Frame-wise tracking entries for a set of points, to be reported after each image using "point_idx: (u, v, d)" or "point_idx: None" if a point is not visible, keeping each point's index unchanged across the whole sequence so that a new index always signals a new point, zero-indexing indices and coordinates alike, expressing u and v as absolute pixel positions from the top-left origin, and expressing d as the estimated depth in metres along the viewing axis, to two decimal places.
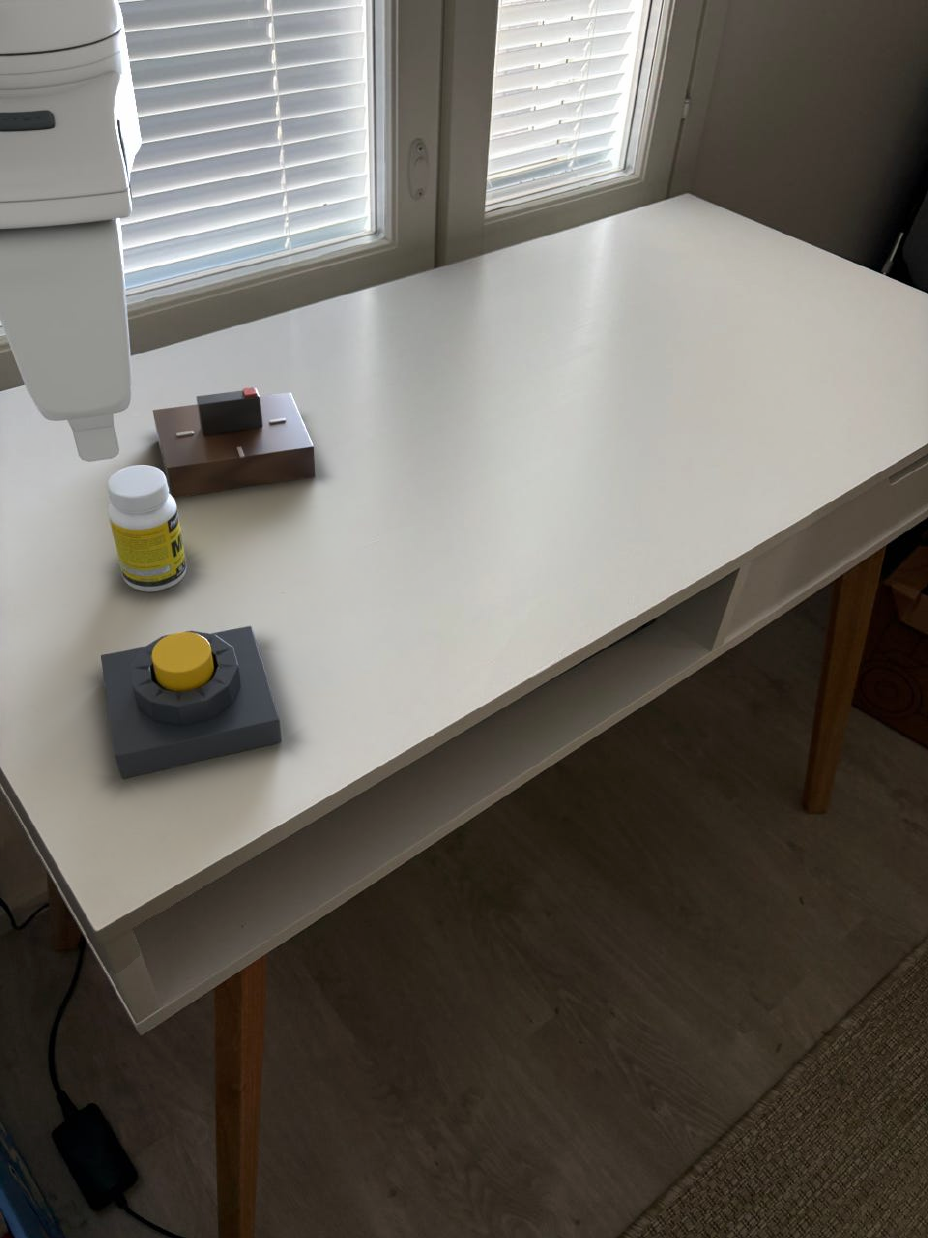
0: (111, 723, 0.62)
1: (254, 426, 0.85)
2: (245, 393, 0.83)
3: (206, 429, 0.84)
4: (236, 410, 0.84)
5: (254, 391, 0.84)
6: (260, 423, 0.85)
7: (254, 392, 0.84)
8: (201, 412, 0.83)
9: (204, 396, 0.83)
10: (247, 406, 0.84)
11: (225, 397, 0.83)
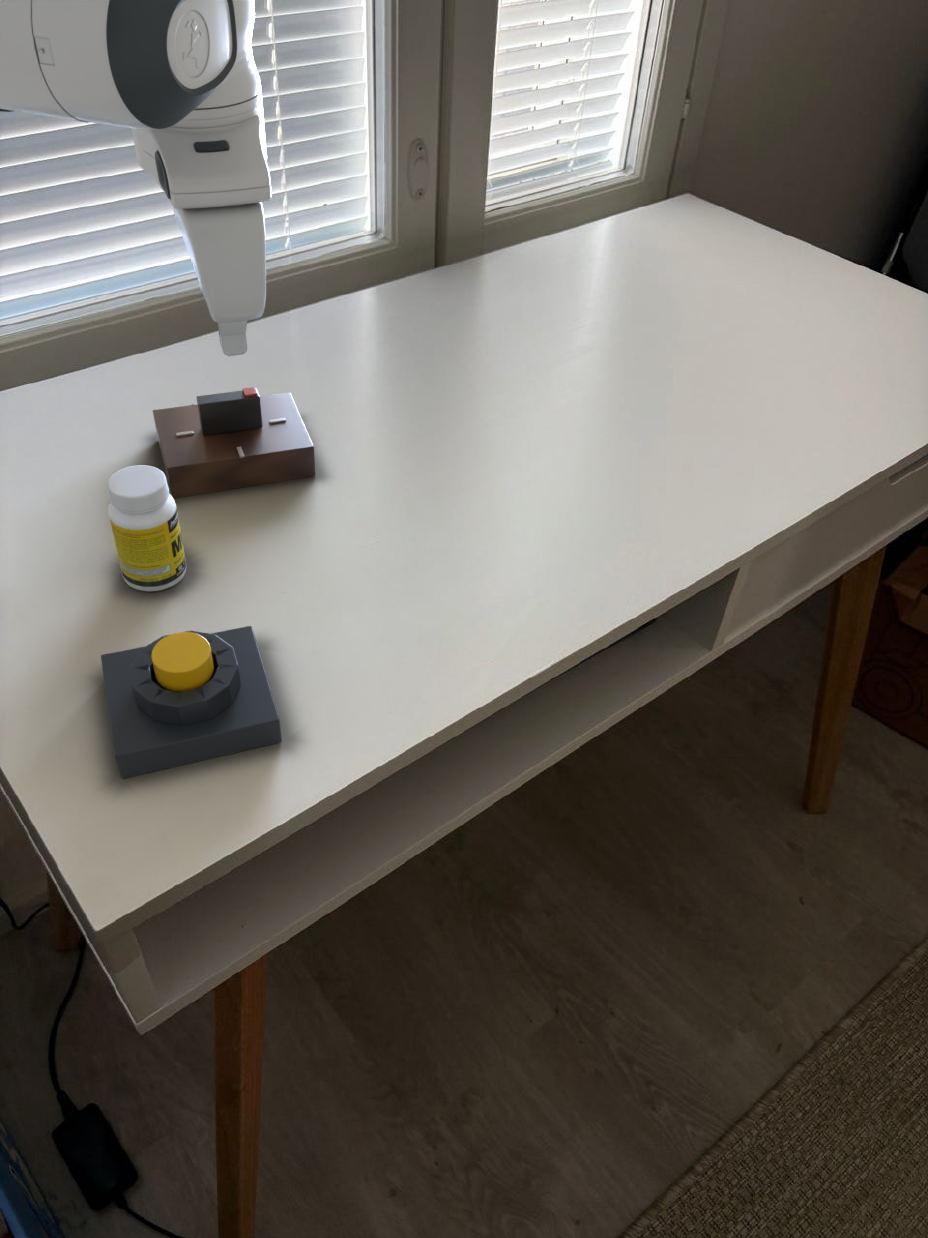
0: (111, 723, 0.62)
1: (254, 426, 0.85)
2: (245, 393, 0.83)
3: (206, 429, 0.84)
4: (236, 410, 0.84)
5: (254, 391, 0.84)
6: (260, 423, 0.85)
7: (254, 392, 0.84)
8: (201, 412, 0.83)
9: (204, 396, 0.83)
10: (247, 406, 0.84)
11: (225, 397, 0.83)
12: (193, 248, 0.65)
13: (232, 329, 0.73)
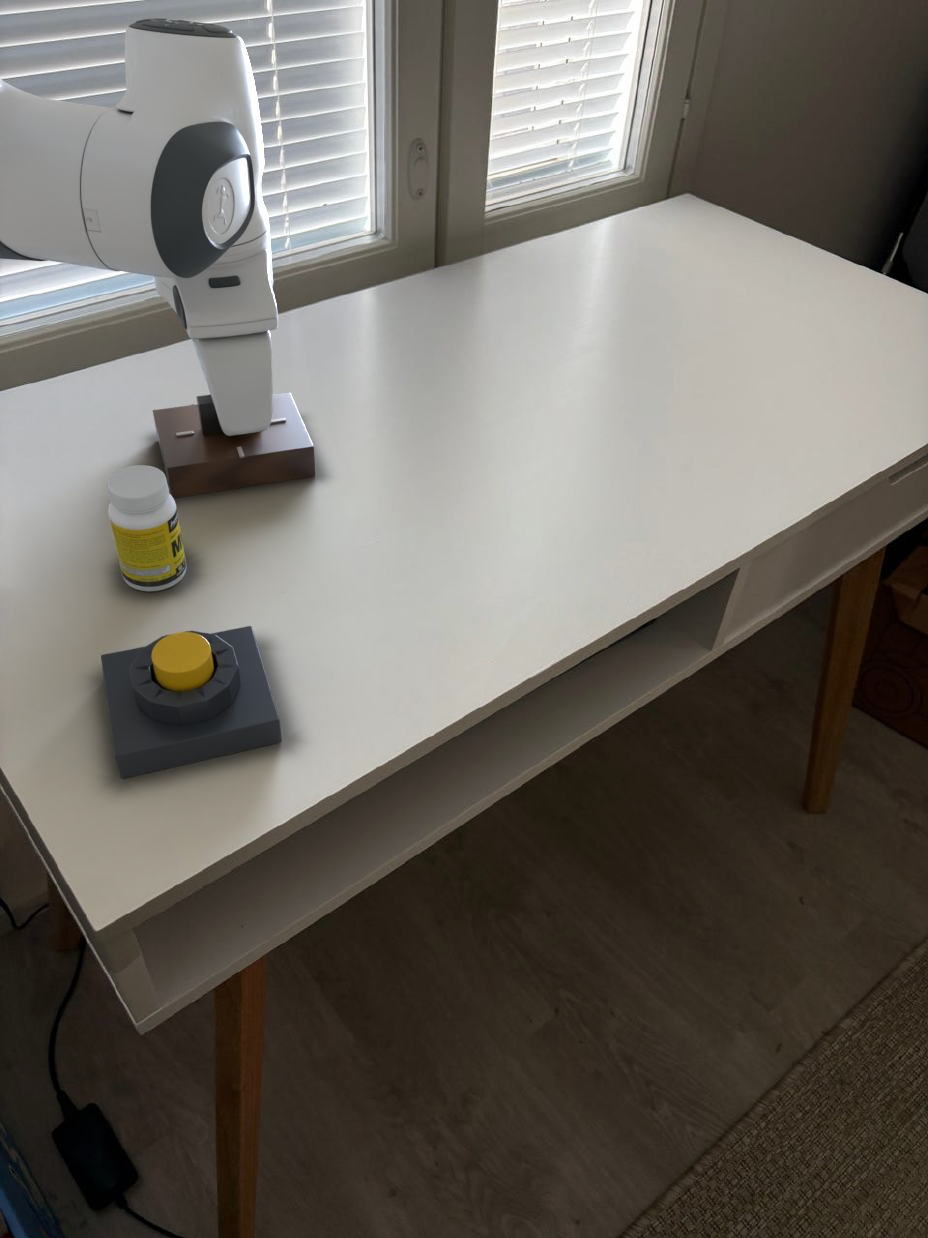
0: (111, 723, 0.62)
1: None
2: None
3: (206, 429, 0.84)
4: None
5: None
6: None
7: None
8: (201, 412, 0.83)
9: (204, 396, 0.83)
10: None
11: None
12: (207, 373, 0.72)
13: None
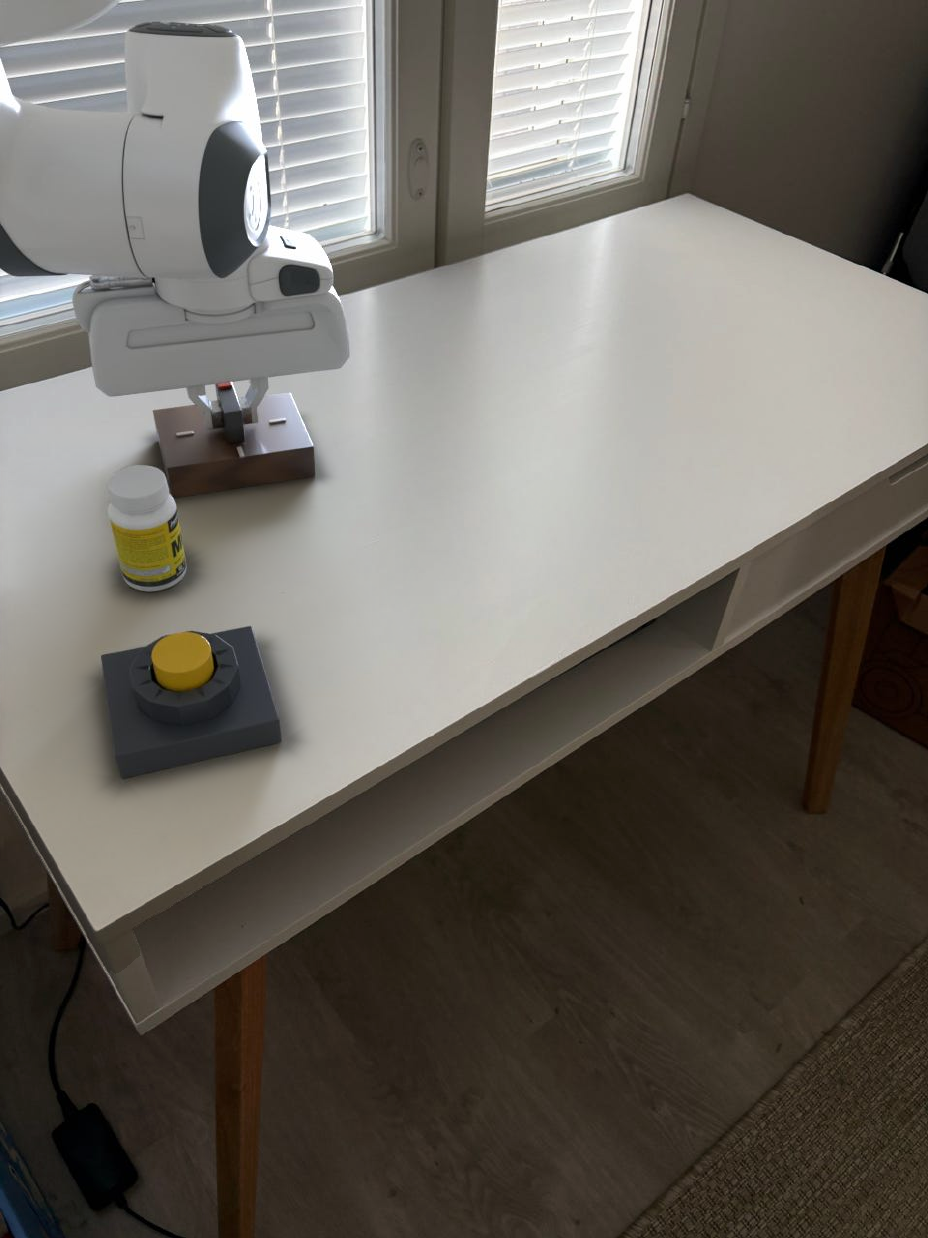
0: (111, 723, 0.62)
1: None
2: (228, 385, 0.84)
3: (244, 434, 0.84)
4: None
5: None
6: None
7: None
8: (242, 418, 0.83)
9: (226, 408, 0.82)
10: None
11: (231, 397, 0.83)
12: (340, 313, 0.79)
13: None
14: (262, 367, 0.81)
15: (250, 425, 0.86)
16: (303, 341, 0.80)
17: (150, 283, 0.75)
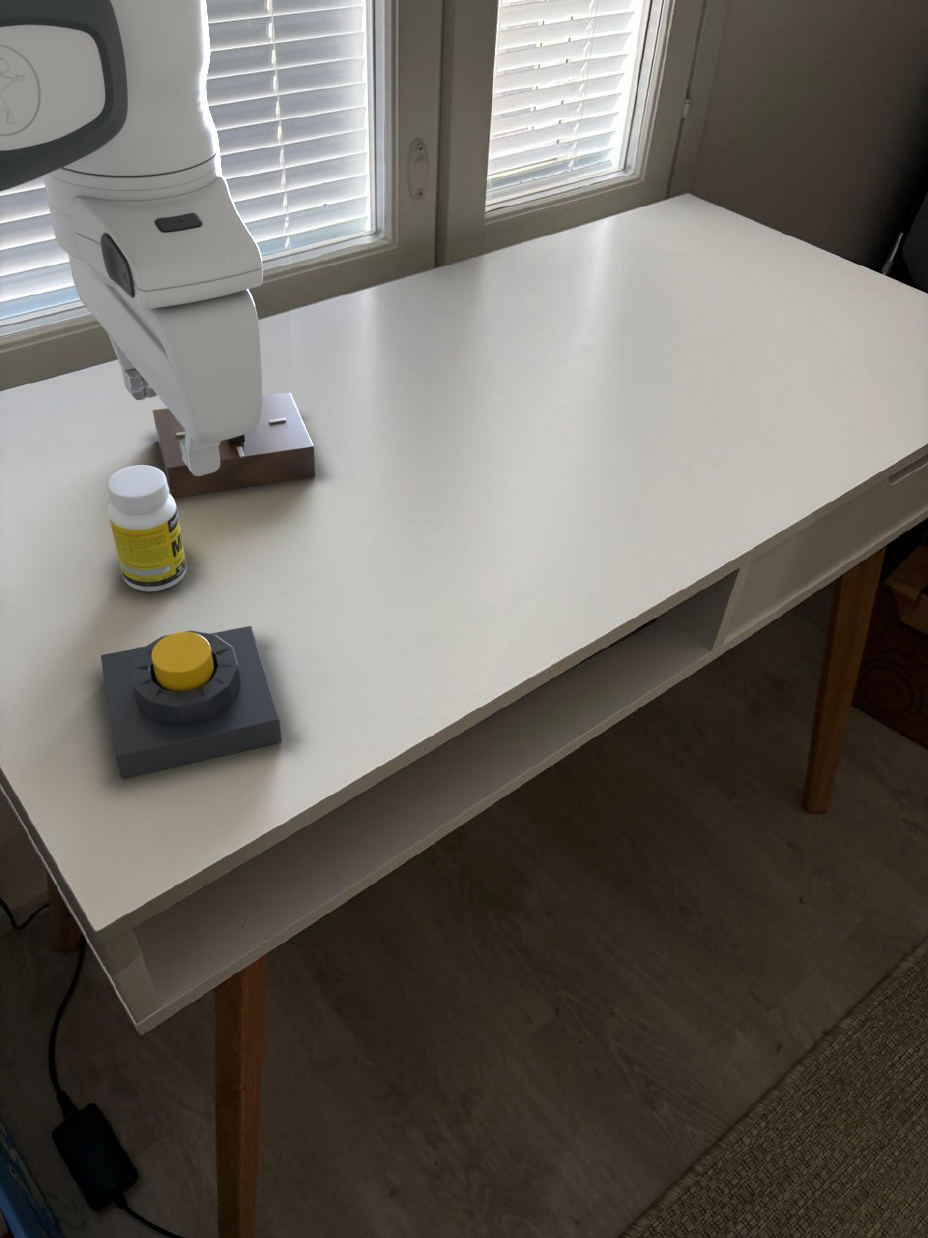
0: (111, 723, 0.62)
1: None
2: None
3: None
4: None
5: None
6: None
7: None
8: None
9: None
10: None
11: None
12: (172, 357, 0.49)
13: (204, 444, 0.57)
14: (145, 371, 0.56)
15: None
16: (165, 369, 0.53)
17: None
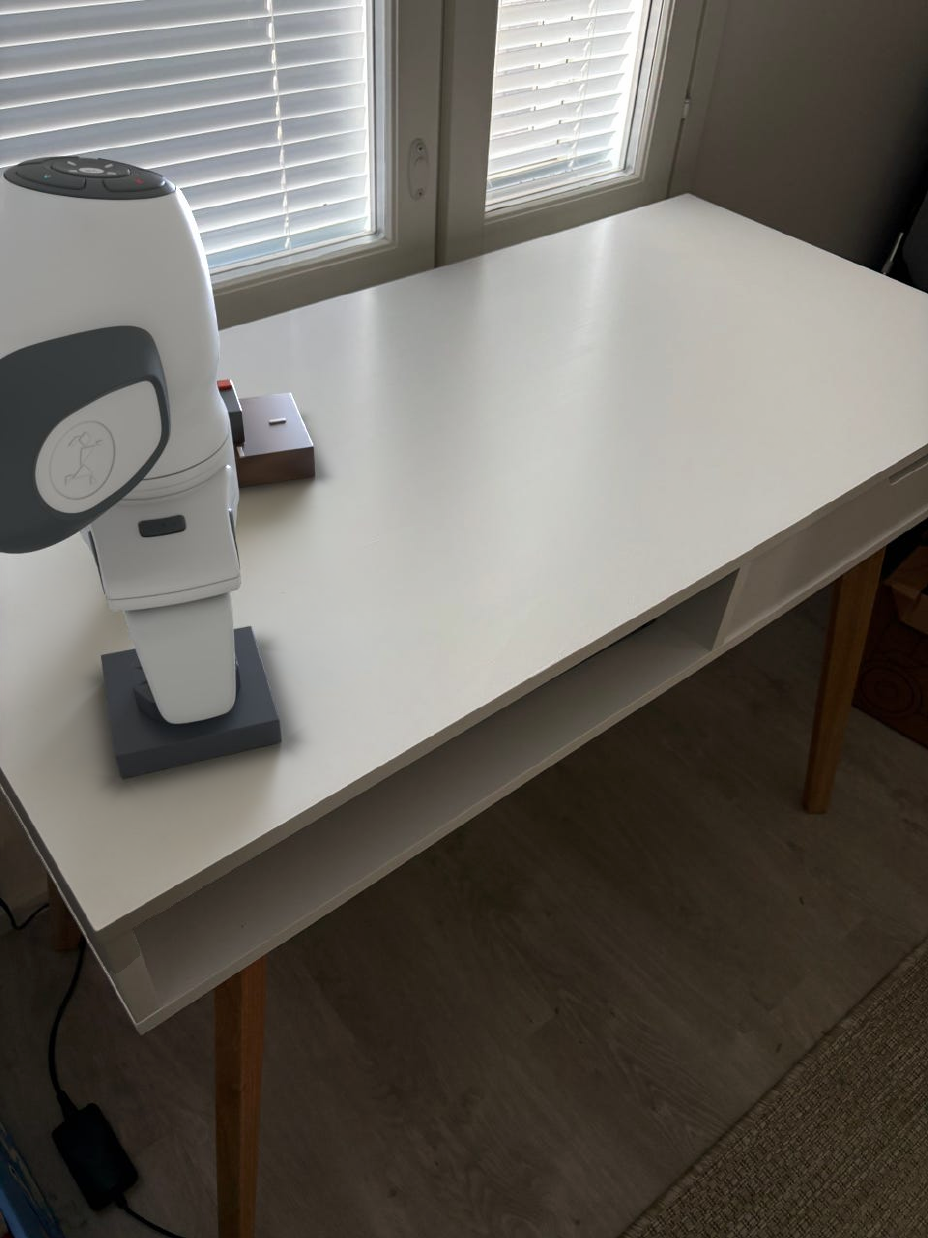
0: (111, 723, 0.62)
1: None
2: (228, 385, 0.84)
3: (244, 434, 0.84)
4: None
5: (225, 380, 0.85)
6: None
7: (227, 380, 0.85)
8: (242, 418, 0.83)
9: None
10: None
11: (231, 397, 0.83)
12: (138, 655, 0.49)
13: None
14: None
15: (250, 425, 0.86)
16: None
17: None
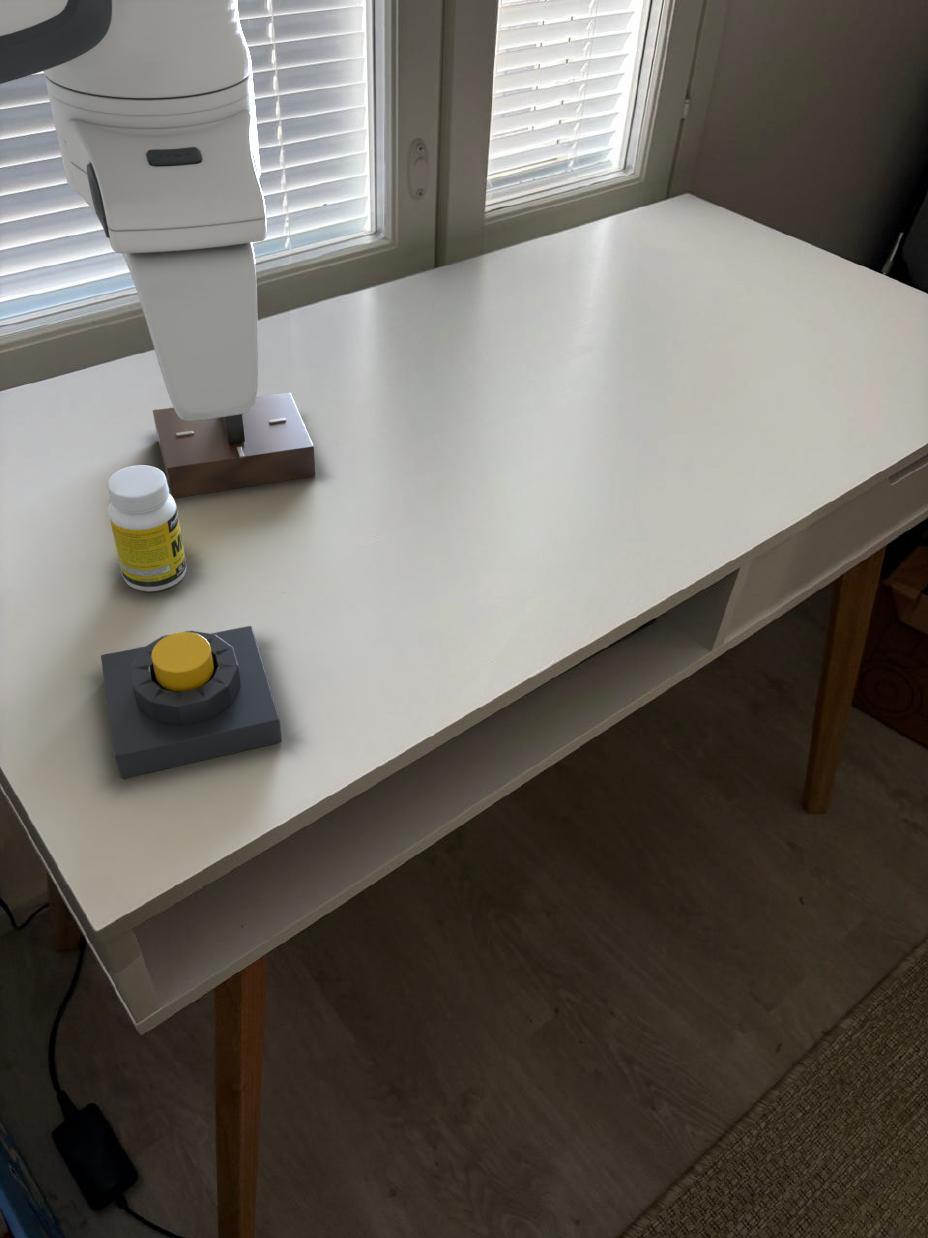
0: (111, 723, 0.62)
1: None
2: None
3: (244, 434, 0.84)
4: None
5: None
6: None
7: None
8: (242, 418, 0.83)
9: None
10: None
11: None
12: (146, 314, 0.42)
13: None
14: None
15: (250, 425, 0.86)
16: None
17: None
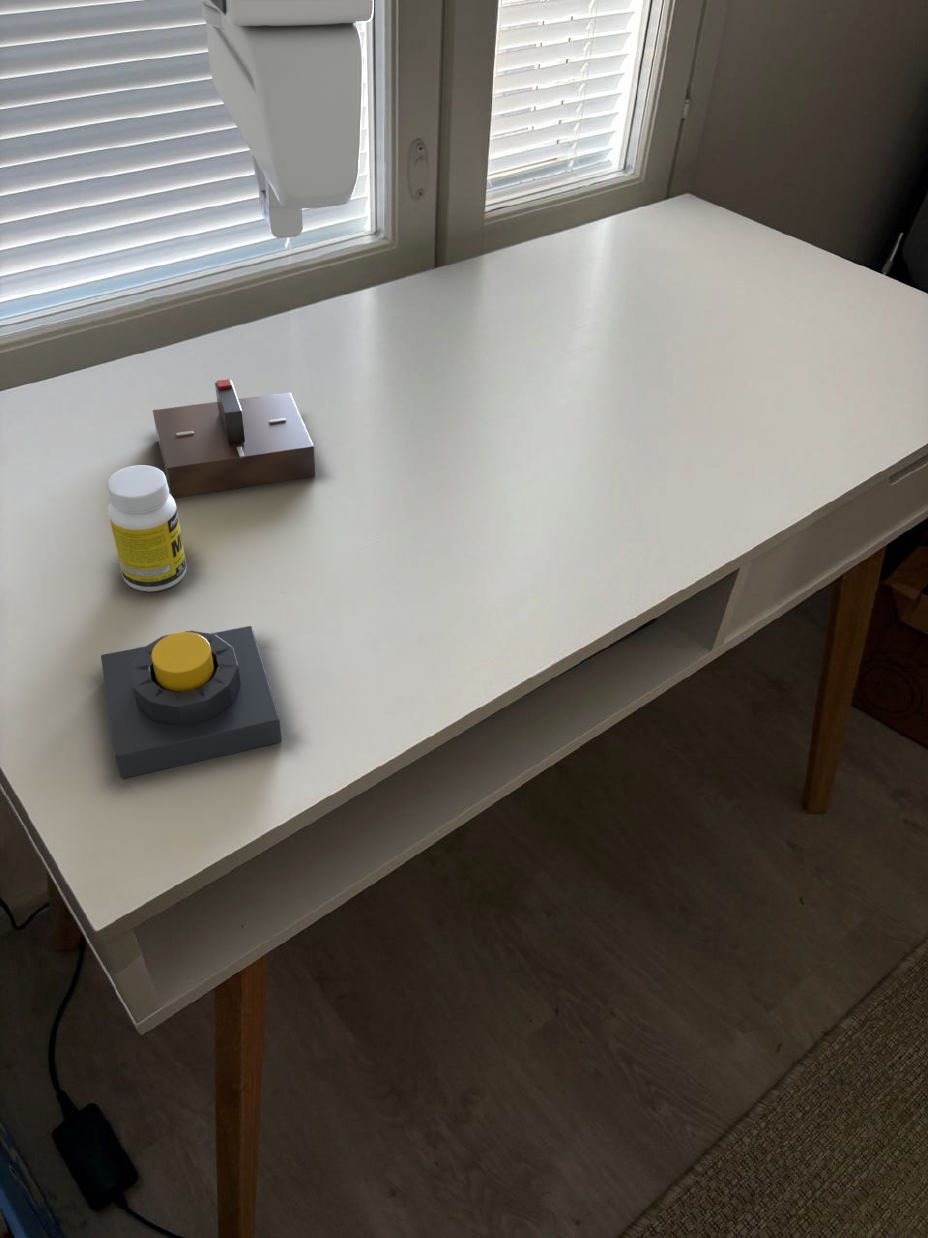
0: (111, 723, 0.62)
1: None
2: (228, 385, 0.84)
3: (244, 434, 0.84)
4: None
5: (225, 380, 0.85)
6: None
7: (227, 380, 0.85)
8: (242, 418, 0.83)
9: (226, 408, 0.82)
10: None
11: (231, 397, 0.83)
12: (258, 88, 0.44)
13: None
14: (250, 137, 0.51)
15: (250, 425, 0.86)
16: (261, 121, 0.48)
17: None
